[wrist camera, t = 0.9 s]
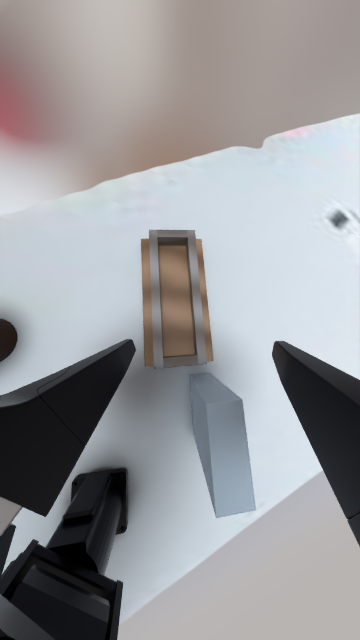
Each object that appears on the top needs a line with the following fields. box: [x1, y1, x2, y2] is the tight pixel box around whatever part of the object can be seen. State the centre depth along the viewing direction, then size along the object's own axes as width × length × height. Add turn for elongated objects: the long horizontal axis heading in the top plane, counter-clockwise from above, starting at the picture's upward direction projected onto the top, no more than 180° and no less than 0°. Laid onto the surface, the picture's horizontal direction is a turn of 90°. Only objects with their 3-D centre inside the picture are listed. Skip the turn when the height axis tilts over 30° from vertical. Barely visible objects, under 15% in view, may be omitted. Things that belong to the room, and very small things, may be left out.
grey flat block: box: [189, 373, 256, 518], centre depth 15 cm, size 8×3×9 cm, turn 4°
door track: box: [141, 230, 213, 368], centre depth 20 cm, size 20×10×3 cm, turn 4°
